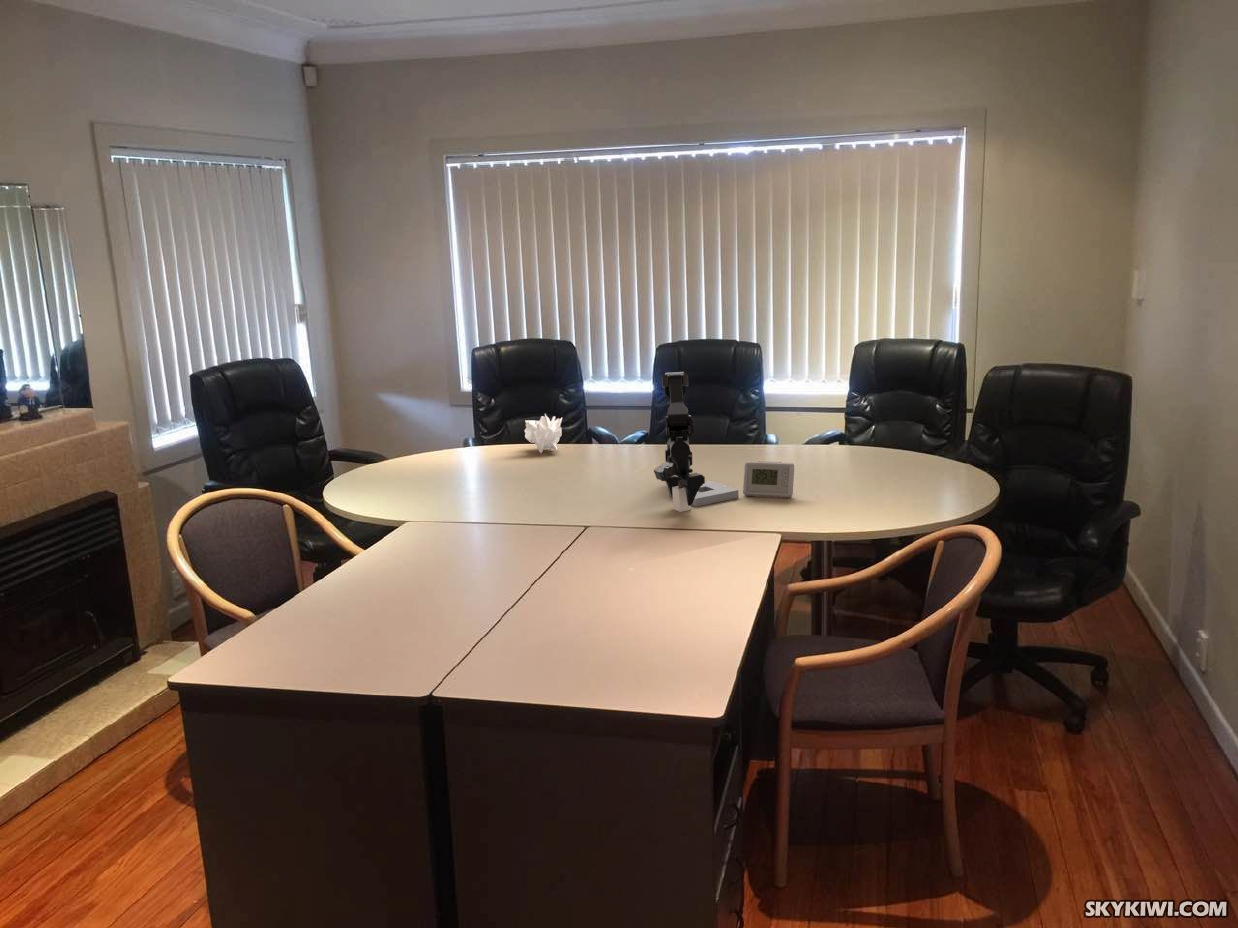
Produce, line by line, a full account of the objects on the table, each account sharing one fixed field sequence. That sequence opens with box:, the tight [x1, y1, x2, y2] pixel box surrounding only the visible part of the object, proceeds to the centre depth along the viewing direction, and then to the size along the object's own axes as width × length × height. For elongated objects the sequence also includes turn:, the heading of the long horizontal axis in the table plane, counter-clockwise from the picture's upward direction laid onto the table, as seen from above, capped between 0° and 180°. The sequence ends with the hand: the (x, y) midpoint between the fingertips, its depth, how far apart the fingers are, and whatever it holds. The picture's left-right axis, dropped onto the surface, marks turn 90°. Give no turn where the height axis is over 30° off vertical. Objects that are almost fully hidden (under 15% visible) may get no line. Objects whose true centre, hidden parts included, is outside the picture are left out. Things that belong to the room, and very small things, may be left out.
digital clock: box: [742, 460, 795, 499], centre depth 325 cm, size 16×9×11 cm, turn 56°
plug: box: [672, 480, 692, 513], centre depth 315 cm, size 4×4×9 cm
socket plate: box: [668, 480, 739, 507], centre depth 328 cm, size 16×16×2 cm
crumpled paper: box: [524, 413, 563, 454], centre depth 408 cm, size 20×17×15 cm
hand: (681, 502), depth 315 cm, fingers open, 9 cm apart
